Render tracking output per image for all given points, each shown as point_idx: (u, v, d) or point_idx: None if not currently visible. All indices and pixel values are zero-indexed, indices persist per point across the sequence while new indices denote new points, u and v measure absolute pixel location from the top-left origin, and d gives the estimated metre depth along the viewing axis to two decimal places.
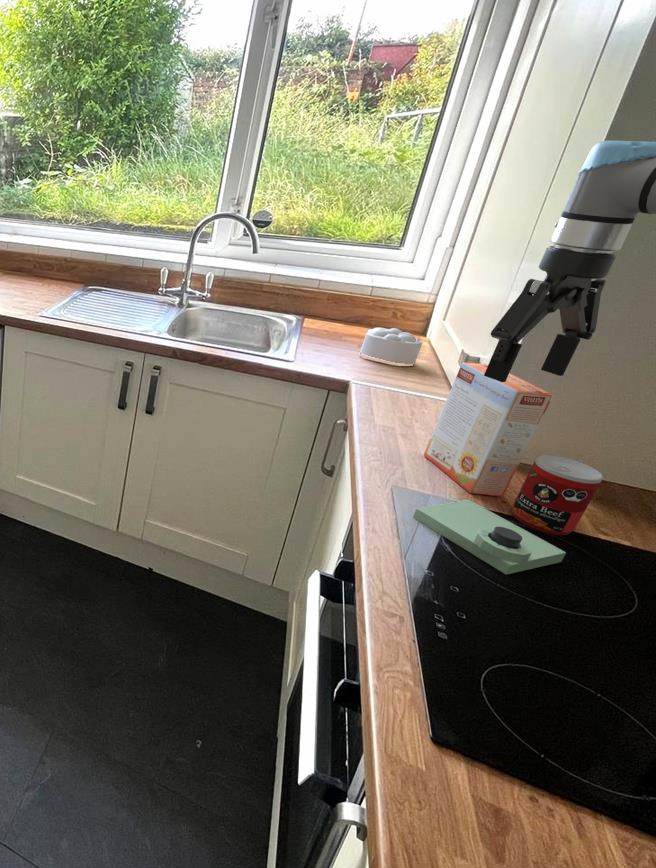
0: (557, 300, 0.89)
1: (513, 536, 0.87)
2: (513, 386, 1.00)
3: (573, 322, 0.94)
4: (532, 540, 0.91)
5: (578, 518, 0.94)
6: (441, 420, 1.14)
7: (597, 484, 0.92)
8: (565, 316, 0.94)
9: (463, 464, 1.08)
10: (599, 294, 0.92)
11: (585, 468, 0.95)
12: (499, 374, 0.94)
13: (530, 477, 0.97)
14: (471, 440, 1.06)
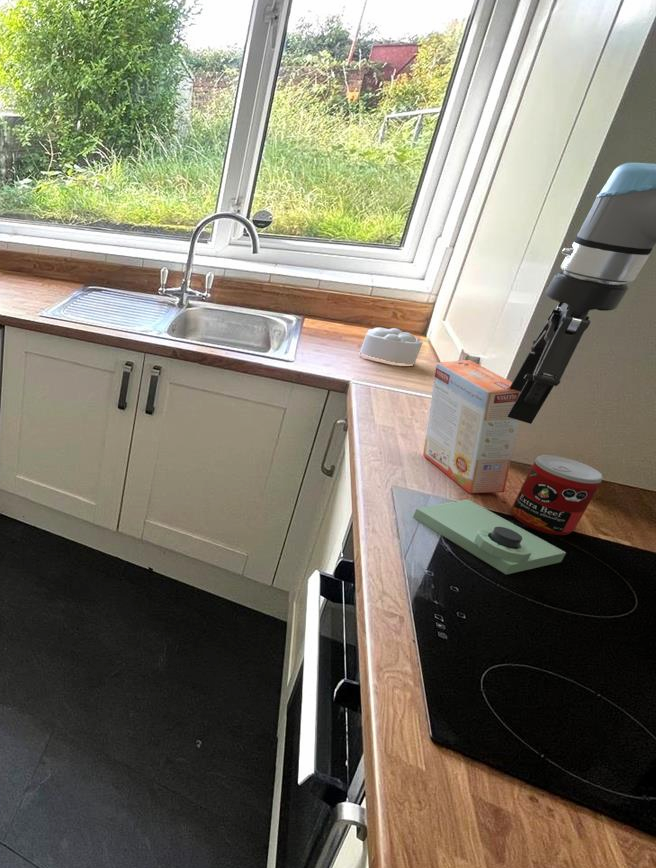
0: None
1: (513, 536, 0.87)
2: (485, 385, 1.00)
3: None
4: (532, 540, 0.91)
5: (578, 518, 0.94)
6: (431, 420, 1.14)
7: (597, 484, 0.92)
8: None
9: (458, 464, 1.08)
10: None
11: (585, 468, 0.95)
12: (528, 416, 0.87)
13: (531, 477, 0.97)
14: (460, 441, 1.07)
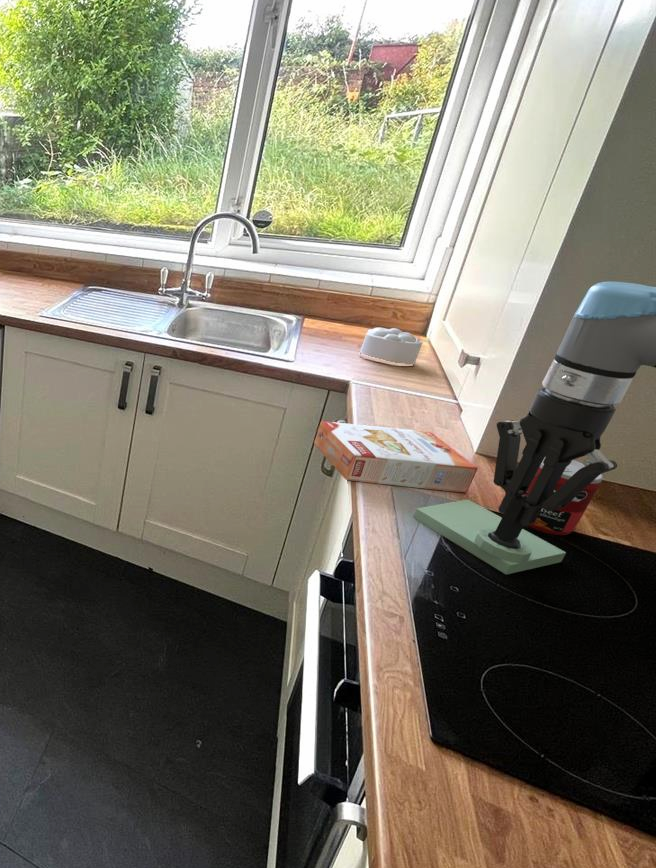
0: None
1: (511, 540, 0.87)
2: (340, 469, 1.10)
3: (532, 475, 0.85)
4: (532, 540, 0.91)
5: (578, 518, 0.94)
6: None
7: (597, 484, 0.92)
8: (530, 470, 0.84)
9: None
10: None
11: None
12: (517, 532, 0.87)
13: None
14: None
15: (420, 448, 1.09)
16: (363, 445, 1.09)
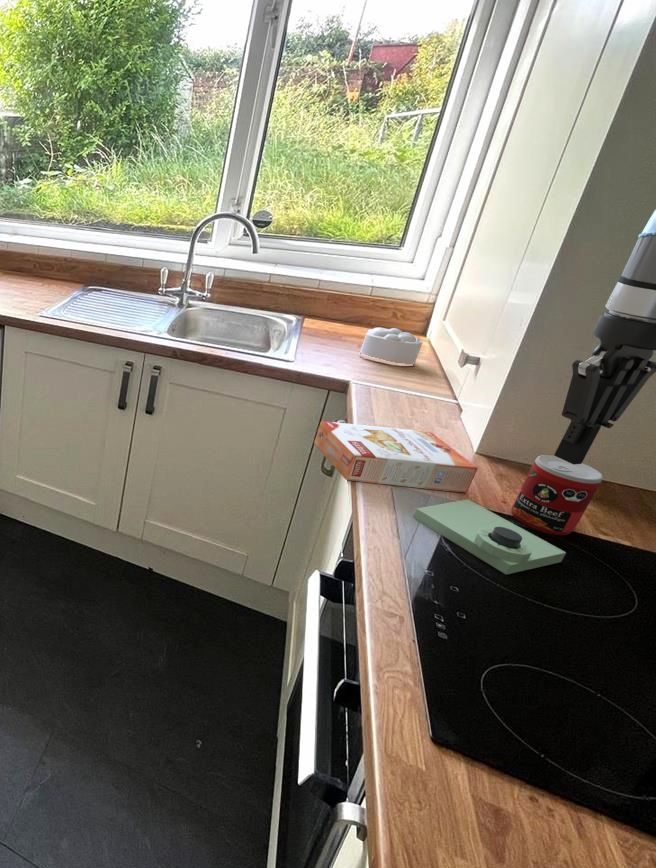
0: None
1: (513, 536, 0.87)
2: (340, 469, 1.10)
3: None
4: (532, 540, 0.91)
5: (578, 518, 0.94)
6: None
7: (597, 484, 0.92)
8: None
9: None
10: (574, 374, 0.86)
11: (585, 468, 0.95)
12: None
13: (530, 477, 0.97)
14: None
15: (420, 448, 1.09)
16: (363, 445, 1.09)
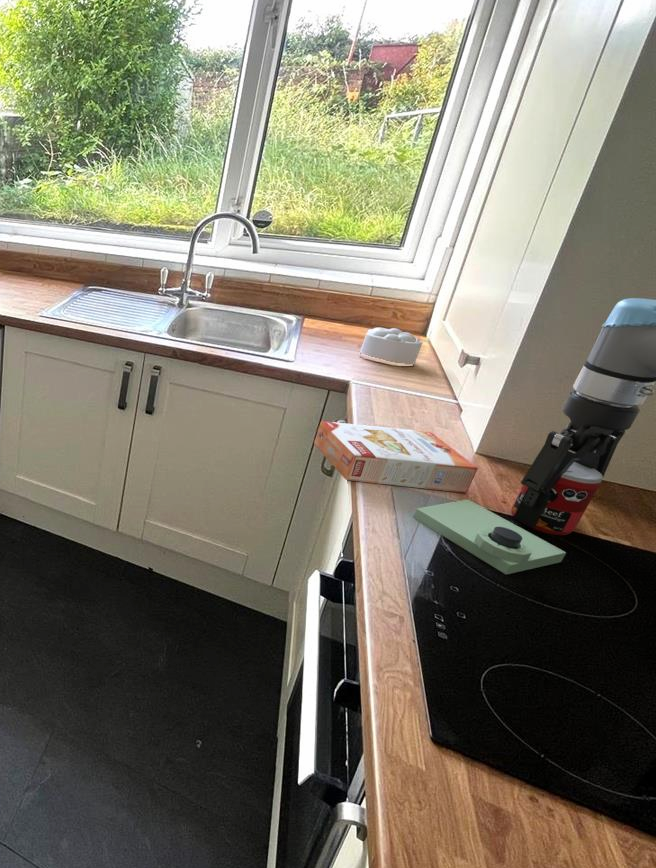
0: None
1: (513, 536, 0.87)
2: (340, 469, 1.10)
3: None
4: (532, 540, 0.91)
5: (578, 518, 0.94)
6: None
7: (597, 484, 0.92)
8: None
9: None
10: (545, 444, 0.92)
11: (585, 468, 0.95)
12: None
13: None
14: None
15: (420, 448, 1.09)
16: (363, 445, 1.09)
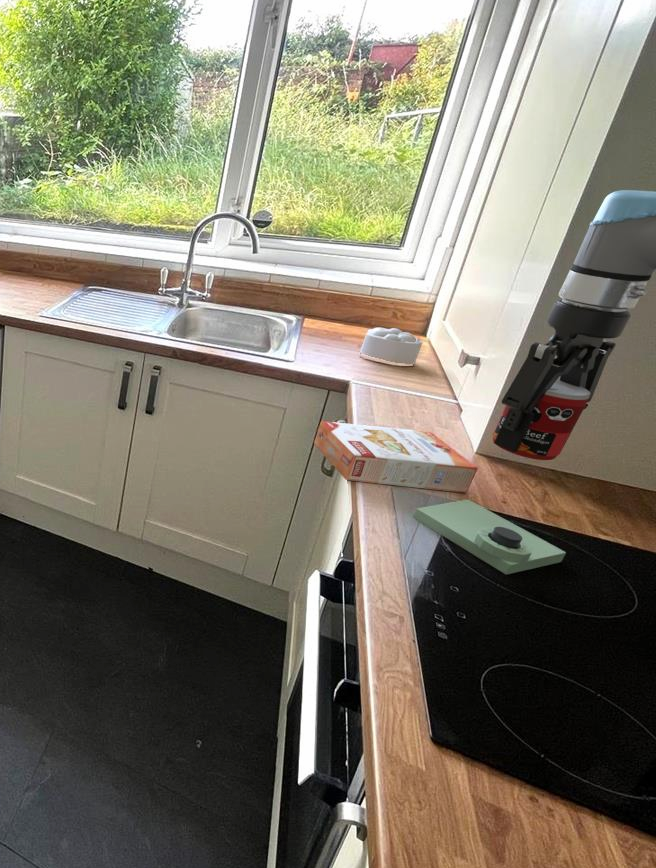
0: None
1: (513, 536, 0.87)
2: (340, 469, 1.10)
3: None
4: (532, 540, 0.91)
5: (564, 440, 0.86)
6: None
7: (584, 401, 0.84)
8: None
9: None
10: None
11: (571, 387, 0.87)
12: None
13: None
14: None
15: (420, 448, 1.09)
16: (363, 445, 1.09)
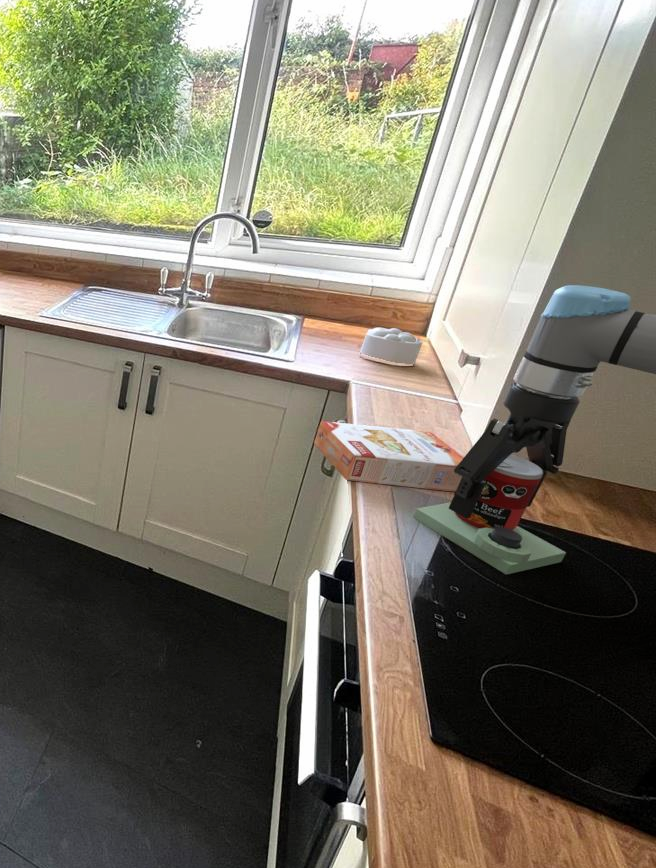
0: None
1: (513, 536, 0.87)
2: (340, 469, 1.10)
3: None
4: (532, 540, 0.91)
5: (519, 515, 0.91)
6: None
7: (537, 480, 0.89)
8: None
9: None
10: None
11: (526, 464, 0.92)
12: None
13: None
14: None
15: (420, 448, 1.09)
16: (363, 445, 1.09)
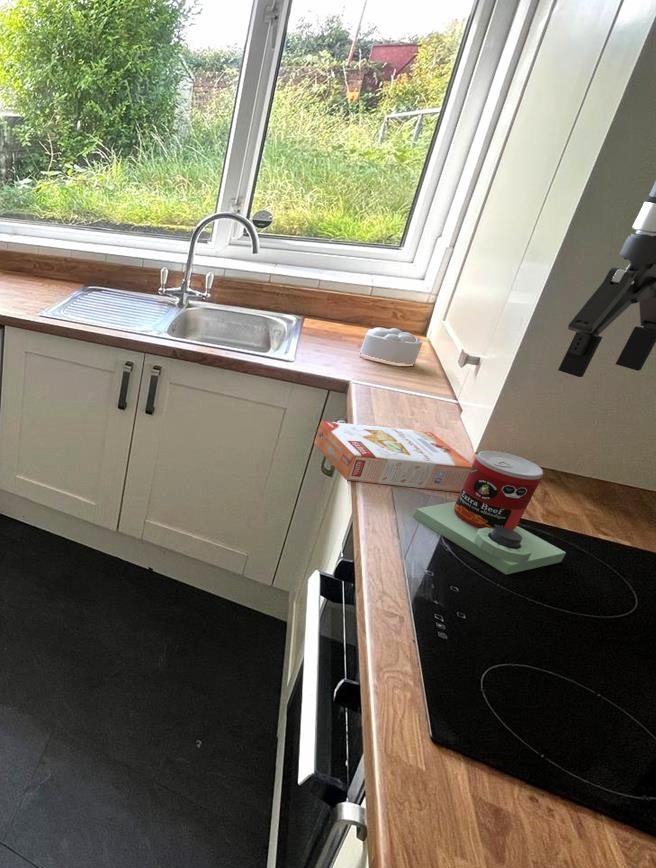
0: None
1: (513, 536, 0.87)
2: (340, 469, 1.10)
3: None
4: (532, 540, 0.91)
5: (519, 515, 0.91)
6: None
7: (537, 480, 0.89)
8: None
9: None
10: (603, 283, 0.86)
11: (526, 464, 0.92)
12: None
13: (472, 473, 0.94)
14: None
15: (420, 448, 1.09)
16: (363, 445, 1.09)
